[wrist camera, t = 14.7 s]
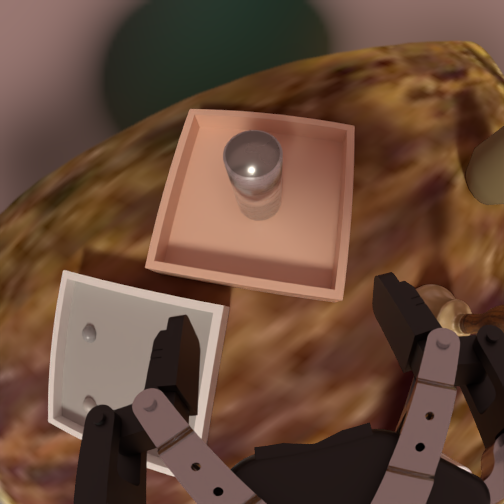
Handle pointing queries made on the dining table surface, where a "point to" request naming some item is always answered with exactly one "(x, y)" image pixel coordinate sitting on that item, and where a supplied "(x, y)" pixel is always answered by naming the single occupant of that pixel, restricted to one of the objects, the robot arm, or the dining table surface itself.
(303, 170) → the terracotta bin
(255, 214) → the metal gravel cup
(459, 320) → the hand bell
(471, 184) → the squeeze bottle
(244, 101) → the dining table surface
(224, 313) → the bin
